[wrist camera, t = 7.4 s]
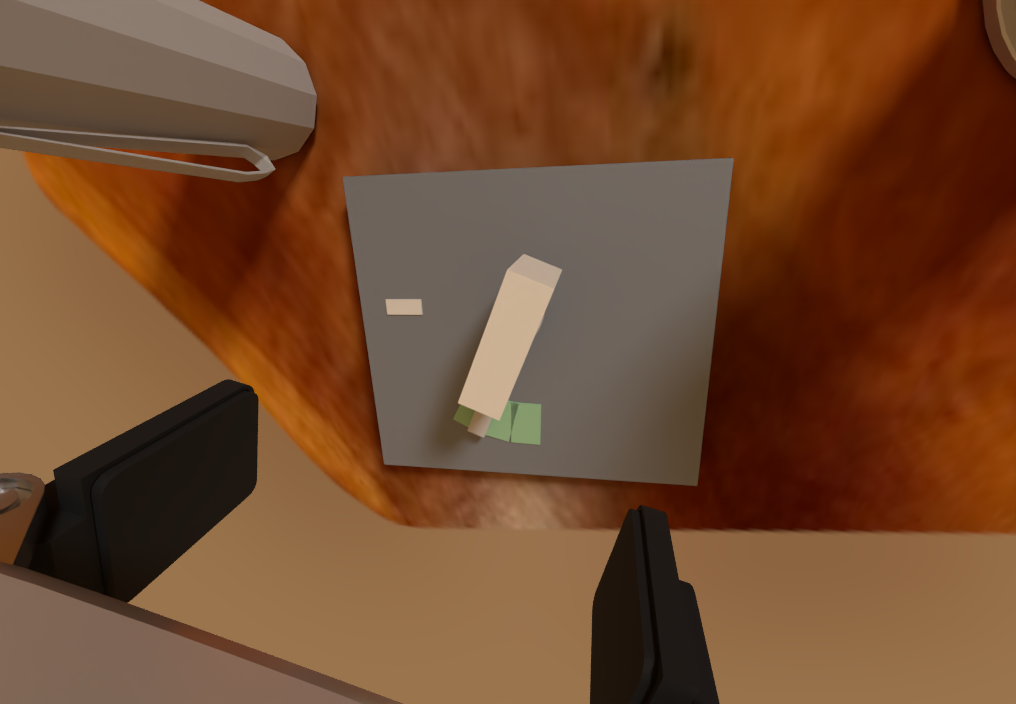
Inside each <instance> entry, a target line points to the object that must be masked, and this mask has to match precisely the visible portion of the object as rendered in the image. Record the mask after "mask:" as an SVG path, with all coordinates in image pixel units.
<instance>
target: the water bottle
mask: <svg viewBox="0 0 1016 704" xmlns="http://www.w3.org/2000/svg"><path fill="white" fill-rule="evenodd" d="M316 101H317V95H316V92H315V89H314V86H313V84H312V81H311V78H310V75H309V72H308V69H307V67H306V64H305V62H304V61H303V60H302V59H301V58H300V57H299V56H298V55H297V54H296V53H295V52H294V51H293V50H292V49H291V48H290V47H289V46H288V45H287V44H286V43H285V42H284V41H283V40H282V39H281V38H279V37H276V36H274V35H272V34H270V33H268V32H266V31H264V30H261V29H259V28H257V27H255V26H253V25H251V24H248V23H246V22H244V21H242V20H240V19H238V18H236V17H233V16H231V15H229V14H227V13H225V12H223V11H220V10H218V9H216V8H214V7H212V6H210V5H208V4H205V3H203V2H201V1H199V0H0V148H5V149H12V150H19V151H26V152H33V153H40V154H47V155H54V156H61V157H68V158H75V159H81V160H88V161H95V162H102V163H109V164H116V165H123V166H130V167H137V168H144V169H151V170H157V171H164V172H171V173H178V174H185V175H192V176H199V177H206V178H213V179H220V180H227V181H234V182H246V181H257V180H260V179H262V178H265V177H267V176H268V175H269V174H271V173H272V172H273V171H274V170H276V169H275V168H274V166H273V164H272V163H271V161H270V160H277V159H280V158H283V157H285V156H288V155H291V154H294V153H296V152H299V150H300V149H301V147H302V146H303V144H304V143H305V141H306V140H307V138H308V137H309V135H310V134H311V132H312V131H313V129H314V124H315V112H316ZM89 146H94V147H89ZM96 147H107V148H120V149H133V150H146V151H159V152H172V153H185V154H198V155H211V156H224V157H237V158H245V159H246V160H248V161H249V162H251V163H252V164H254V165H255V166H256V167H257V168H258V169H259V170H260V171H252V172H243V171H237V170H231V169H225V168H219V167H213V166H206V165H200V164H194V163H188V162H182V161H176V160H170V159H163V158H157V157H151V156H145V155H139V154H133V153H126V152H120V151H114V150H108V149H102V148H96Z"/></svg>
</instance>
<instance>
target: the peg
mask: <svg viewBox="0 0 1016 704" xmlns="http://www.w3.org/2000/svg"><path fill="white" fill-rule="evenodd" d="M561 272H562V269H560V268H557V267H555V266H552V265H550V264H547V263H545V262H543V261H540V260H538V259H535V258H533V257H530V256H528V255H525V254H523V255H522V256H521V257H520V258H519V259H518V260H517V261H516V262H515V263H514V264H513V265H512V266H510V267H509V268H508V269H507V271H506V274H505V277H504V279H503V282H502V285H501V288H500V290H499V293H498V296H497V298H496V301H495V304H494V306H493V309H492V312H491V315H490V317H489V320H488V323H487V325H486V328H485V331H484V333H483V336H482V339H481V342H480V344H479V347H478V350H477V352H476V355H475V358H474V361H473V363H472V366H471V369H470V371H469V374H468V377H467V379H466V382H465V385H464V388H463V390H462V393H461V396H460V398H459V401H458V403H459V404H461V405H463V406H466V407H468V408H470V409H473V410H475V412H474V415H473V417H472V420H471V422H470V425H469V427H468V430H467V431H469V432H471V433H474V434H476V435H478V436H481V437H483V438H484V437H485V434H486V432H487V430H488V427H489V425H490V422H491V420H492V418H494V419H496V420H499V421H500V418H501V416H502V413H503V411H504V409H505V406H506V404H507V401H508V399H509V397H510V394H511V392H512V389H513V387H514V385H515V382H516V380H517V377H518V375H519V373H520V370H521V368H522V366H523V363H524V361H525V358H526V356H527V354H528V351H529V349H530V346H531V344H532V342H533V339H534V337H535V335H536V334H537V332H538V331H539V329H540V327H541V324H542V321H543V319H544V316H545V314H546V309H547V306H548V303H549V301H550V298H551V296H552V294H553V291H554V289H555V286H556V284H557V281H558V279H559V277H560V274H561Z"/></svg>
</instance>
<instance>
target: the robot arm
mask: <svg viewBox="0 0 1016 704" xmlns="http://www.w3.org/2000/svg"><path fill="white" fill-rule="evenodd" d="M983 9H984V20H985V28H986V31H987V34H988V37H989V40H990V43H991V46H992V49H993V52H994V53H995V55H996V56H997V58H998V59H999V61H1000V62H1001V64H1002V65H1003V67H1004V68H1005V70H1006V71H1007V72H1008V73H1009V74H1010V75H1012V76H1013V77H1014V78H1015V79H1016V0H983ZM257 443H258V396H257V394H255V393H254V390H253V388H252V387H251V386H249V385H246V384H243V383H240V382H236V381H233V380H224V381H222V382H220V383H218V384H216V385H214V386H212V387H210V388H208V389H207V390H205V391H203V392H201V393H199V394H197V395H195V396H193V397H191V398H189V399H187V400H185V401H184V402H182V403H180V404H178V405H176V406H174V407H172V408H170V409H169V410H166V411H165V412H163V413H161V414H159V415H157V416H155V417H153V418H152V419H149V420H147V421H145V422H144V423H142V424H140V425H138V426H136V427H134V428H132V429H130V430H128V431H126V432H125V433H123V434H121V435H119V436H117V437H115V438H113V439H111V440H109V441H108V442H105V443H104V444H102V445H100V446H98V447H96V448H94V449H92V450H90V451H88V452H86V453H85V454H83V455H81V456H79V457H77V458H75V459H73V460H71V461H69V462H67V463H65V464H64V465H62V466H60V467H58V468H56V469H54V470H53V471H54V477H55V480H53V481H51V482H50V483H48V484H46V485H45V484H44V482H43V481H42V480H41V479H40V478H38V477H36V476H34V475H32V474H25V473H1V474H0V704H402V703H399V702H397V701H394V700H391V699H389V698H386V697H383V696H381V695H378V694H375V693H372V692H370V691H367V690H365V689H362V688H359V687H357V686H354V685H351V684H348V683H346V682H343V681H340V680H337V679H335V678H332V677H329V676H327V675H324V674H321V673H319V672H316V671H313V670H310V669H307V668H305V667H302V666H299V665H297V664H294V663H291V662H288V661H286V660H283V659H280V658H278V657H275V656H272V655H269V654H267V653H264V652H261V651H258V650H256V649H253V648H250V647H247V646H245V645H242V644H239V643H236V642H234V641H231V640H228V639H225V638H223V637H220V636H217V635H214V634H212V633H209V632H206V631H203V630H201V629H198V628H195V627H192V626H190V625H187V624H184V623H181V622H178V621H176V620H173V619H170V618H167V617H164V616H161V615H159V614H156V613H153V612H150V611H148V610H145V609H142V608H139V607H136V606H134V605H131V604H128V603H127V602H129V601H130V600H132V599H133V598H134V597H135V596H136V595H137V594H139V593H140V592H141V591H142V590H143V589H144V588H145V587H147V586H148V585H149V584H150V583H151V582H152V581H153V580H154V579H156V578H157V577H158V576H159V575H160V574H161V573H162V572H163V571H165V570H166V569H167V568H168V567H169V566H170V565H171V564H172V563H174V561H176V560H177V559H178V558H179V557H180V556H182V554H183V553H185V552H186V551H187V550H188V549H189V548H190V547H192V545H194V544H195V543H196V542H197V541H198V540H200V539H201V538H202V537H203V536H204V535H205V534H206V533H207V532H209V531H210V530H211V529H212V528H213V527H214V526H215V525H216V524H217V523H219V522H220V521H221V520H222V519H223V518H224V517H225V516H227V514H229V513H230V512H231V511H232V510H233V509H234V508H236V507H237V506H238V505H239V504H240V503H241V502H242V501H243V500H245V499H246V498H247V497H248V496H249V495H250V494H251V493H252V491H253V490H254V488H255V485H256V482H257V445H258V444H257ZM590 688H591V689H590V704H719V699H718V695H717V691H716V686H715V681H714V677H713V672H712V668H711V663H710V659H709V654H708V650H707V645H706V641H705V636H704V632H703V627H702V623H701V618H700V613H699V609H698V605H697V600H696V595H695V592H694V589H693V587H692V585H691V584H690V583H687V582H684V581H681V580H679V578H678V573H677V567H676V562H675V557H674V551H673V546H672V541H671V535H670V530H669V525H668V519H667V515H666V513H665V512H662V511H659V510H656V509H652V508H649V507H646V506H643V505H640V506H639V507H638V509H637V510H634V509H629V511H628V513H627V515H626V517H625V520H624V522H623V525H622V527H621V530H620V532H619V535H618V537H617V540H616V542H615V545H614V548H613V550H612V552H611V555H610V557H609V560H608V562H607V565H606V567H605V570H604V572H603V575H602V577H601V580H600V582H599V585H598V587H597V590H596V593H595V596H594V601H593V609H592V646H591V685H590Z"/></svg>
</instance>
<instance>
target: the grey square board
mask: <svg viewBox="0 0 1016 704" xmlns="http://www.w3.org/2000/svg"><path fill="white" fill-rule="evenodd" d="M733 159H734V158H721V159H701V160H680V161H659V162H639V163H618V164H598V165H577V166H556V167H536V168H515V169H494V170H474V171H453V172H433V173H412V174H391V175H371V176H350V177H343V183H344V190H345V197H346V204H347V211H348V218H349V225H350V231H351V238H352V245H353V252H354V259H355V266H356V273H357V280H358V287H359V294H360V301H361V308H362V314H363V321H364V328H365V335H366V342H367V349H368V356H369V363H370V370H371V377H372V384H373V391H374V397H375V404H376V411H377V418H378V425H379V432H380V439H381V446H382V453H383V460H384V464H385V465H400V466H414V467H429V468H443V469H458V470H472V471H487V472H501V473H516V474H530V475H545V476H559V477H574V478H588V479H603V480H617V481H631V482H646V483H660V484H675V485H689V486H697V485H698V476H699V467H700V458H701V449H702V439H703V430H704V421H705V412H706V403H707V394H708V385H709V376H710V367H711V358H712V349H713V340H714V331H715V322H716V313H717V304H718V295H719V286H720V277H721V268H722V259H723V250H724V241H725V232H726V223H727V214H728V205H729V196H730V187H731V178H732V168H733ZM523 254H525V255H528V256H530V257H533V258H535V259H538V260H540V261H543V262H545V263H547V264H550V265H552V266H555V267H557V268H560V269H562V272H561V274H560V277H559V279H558V281H557V284H556V286H555V289H554V291H553V294H552V296H551V298H550V301H549V303H548V306H547V309H546V314H545V316H544V319H543V321H542V324H541V327H540V329H539V331H538V332H537V334H536V335H535V337H534V339H533V342H532V344H531V346H530V349H529V351H528V354H527V356H526V358H525V361H524V363H523V366H522V368H521V370H520V373H519V375H518V377H517V380H516V382H515V385H514V387H513V389H512V392H511V394H510V397H509V399H508V401H507V404H506V406H505V409H504V411H503V413H502V416H501V418H500V421H499V420H496V419H494V418H492V420H491V422H490V425H489V427H488V430H487V432H486V434H485V437H484V438H483V437H481V436H478V435H476V434H474V433H471V432H469V431H467V430H468V427H469V425H470V422H471V420H472V417H473V415H474V412H475V410H473V409H470V408H468V407H466V406H463V405H461V404H459V403H458V401H459V398H460V396H461V393H462V390H463V388H464V385H465V382H466V379H467V377H468V374H469V371H470V369H471V366H472V363H473V361H474V358H475V355H476V352H477V350H478V347H479V344H480V342H481V339H482V336H483V333H484V331H485V328H486V325H487V323H488V320H489V317H490V315H491V312H492V309H493V306H494V304H495V301H496V298H497V296H498V293H499V290H500V288H501V285H502V282H503V279H504V277H505V274H506V271H507V269H508V268H509V267H510V266H512V265H513V264H514V263H515V262H516V261H517V260H518V259H519V258H520V257H521V256H522V255H523Z"/></svg>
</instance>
